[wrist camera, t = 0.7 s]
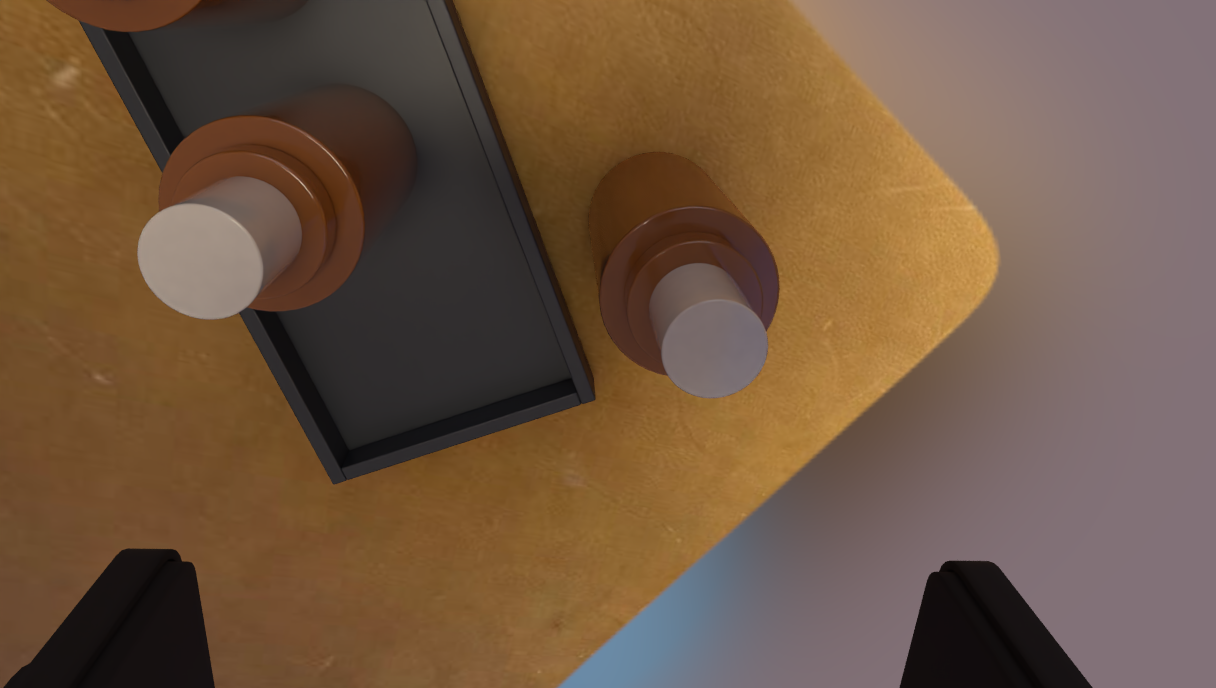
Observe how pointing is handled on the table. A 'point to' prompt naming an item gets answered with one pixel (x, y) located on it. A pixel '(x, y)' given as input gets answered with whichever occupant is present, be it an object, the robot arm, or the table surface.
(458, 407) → the tray
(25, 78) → the table surface
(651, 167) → the loose bottle
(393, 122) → the bottle
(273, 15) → the bottle
